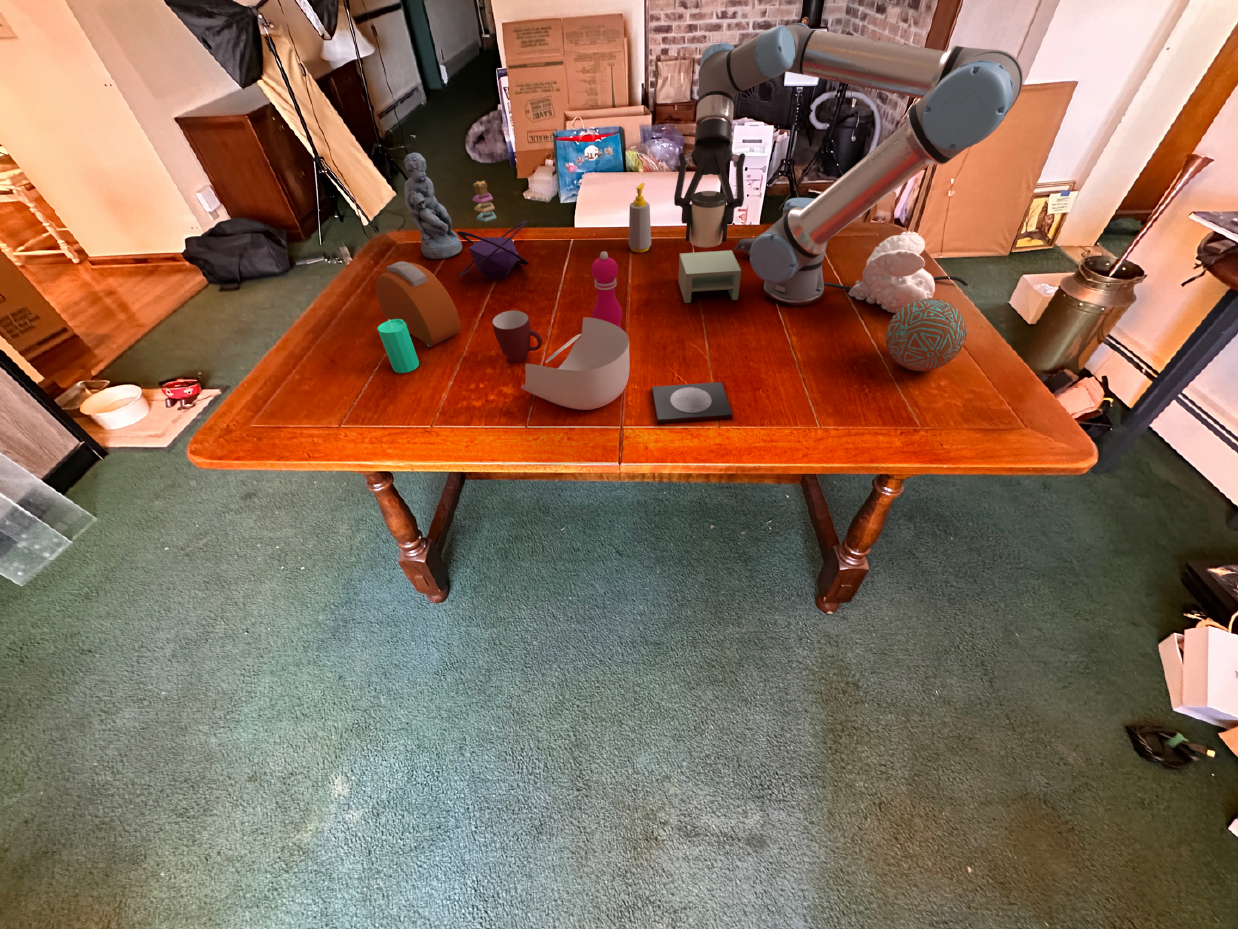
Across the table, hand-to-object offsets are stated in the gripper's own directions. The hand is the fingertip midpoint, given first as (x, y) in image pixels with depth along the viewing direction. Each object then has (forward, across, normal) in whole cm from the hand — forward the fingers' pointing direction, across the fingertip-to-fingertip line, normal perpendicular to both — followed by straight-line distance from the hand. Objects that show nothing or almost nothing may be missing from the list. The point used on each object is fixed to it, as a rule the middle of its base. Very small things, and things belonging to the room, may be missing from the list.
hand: (705, 238), depth 115 cm
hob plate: (+34, +1, 0) cm, 34 cm away
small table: (0, -2, -35) cm, 35 cm away
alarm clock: (+18, +69, -17) cm, 73 cm away
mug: (+25, +40, -10) cm, 48 cm away
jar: (-1, 0, -4) cm, 4 cm away
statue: (-14, +82, -49) cm, 97 cm away
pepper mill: (+16, +22, -19) cm, 33 cm away
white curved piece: (+32, +24, -2) cm, 40 cm away
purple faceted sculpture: (-4, +58, -39) cm, 70 cm away
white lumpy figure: (+2, -47, -33) cm, 58 cm away
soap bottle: (-18, +19, -53) cm, 59 cm away
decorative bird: (-16, -21, -51) cm, 57 cm away
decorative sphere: (+22, -47, -13) cm, 53 cm away
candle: (+29, +67, -6) cm, 73 cm away
